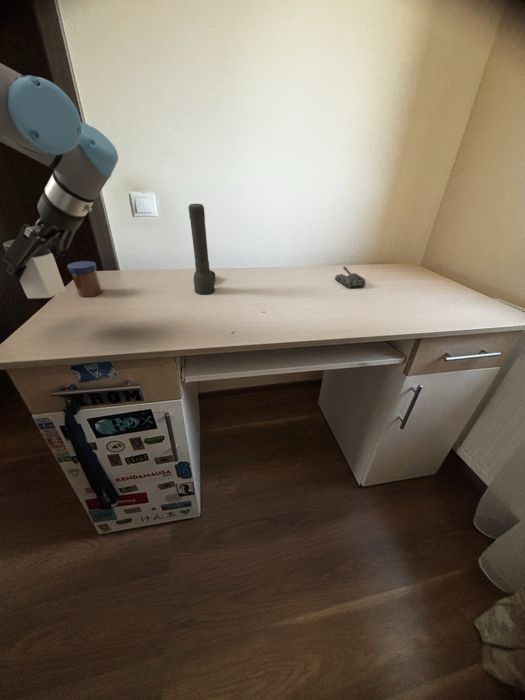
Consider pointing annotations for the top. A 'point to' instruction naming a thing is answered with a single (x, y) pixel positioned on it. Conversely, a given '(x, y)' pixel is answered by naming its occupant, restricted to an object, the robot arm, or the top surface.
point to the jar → (40, 274)
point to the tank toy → (350, 279)
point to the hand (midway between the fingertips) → (27, 274)
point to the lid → (82, 267)
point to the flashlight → (200, 251)
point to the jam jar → (87, 284)
